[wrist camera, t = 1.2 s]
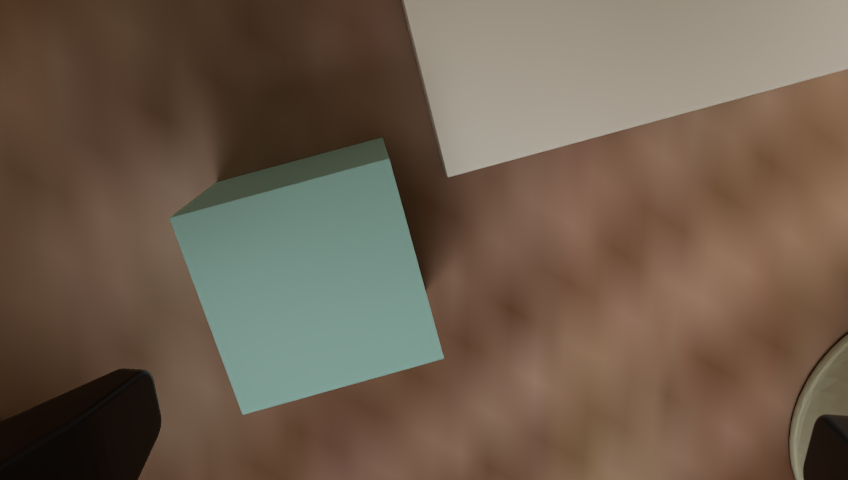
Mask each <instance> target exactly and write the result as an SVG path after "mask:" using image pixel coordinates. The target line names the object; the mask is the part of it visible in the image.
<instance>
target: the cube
mask: <svg viewBox="0 0 848 480" xmlns="http://www.w3.org/2000/svg"><path fill="white" fill-rule="evenodd" d="M169 219H170V221H171V224H172V227H173V229H174V232H175V235H176V237H177V240H178V243H179V245H180V248H181V251H182V253H183V256H184V259H185V262H186V264H187V267H188V270H189V272H190V275H191V278H192V280H193V283H194V286H195V288H196V291H197V294H198V296H199V299H200V302H201V304H202V307H203V310H204V313H205V315H206V318H207V321H208V323H209V326H210V329H211V331H212V334H213V337H214V339H215V342H216V345H217V347H218V350H219V353H220V355H221V358H222V361H223V364H224V366H225V369H226V372H227V374H228V377H229V380H230V382H231V385H232V388H233V390H234V393H235V396H236V398H237V401H238V404H239V406H240V409H241V412H242V415H244V414H248V413H251V412H255V411H258V410H262V409H266V408H269V407H273V406H276V405H280V404H283V403H287V402H291V401H294V400H298V399H301V398H305V397H308V396H312V395H316V394H319V393H323V392H326V391H330V390H333V389H337V388H341V387H344V386H348V385H351V384H355V383H359V382H362V381H366V380H369V379H373V378H376V377H380V376H384V375H387V374H391V373H394V372H398V371H401V370H405V369H409V368H412V367H416V366H419V365H423V364H426V363H430V362H434V361H437V360H441V359H444V357H443V353H442V349H441V346H440V342H439V338H438V335H437V331H436V327H435V324H434V320H433V316H432V313H431V309H430V305H429V302H428V298H427V294H426V291H425V287H424V283H423V280H422V276H421V272H420V269H419V265H418V262H417V258H416V254H415V251H414V247H413V243H412V240H411V236H410V232H409V229H408V225H407V221H406V218H405V214H404V210H403V207H402V203H401V199H400V196H399V192H398V188H397V185H396V181H395V177H394V174H393V170H392V166H391V163H390V159H389V156H388V153H387V150H386V147H385V143H384V140H383V137H382V138H378V139H374V140H370V141H367V142H363V143H359V144H356V145H352V146H348V147H345V148H341V149H337V150H334V151H330V152H326V153H322V154H319V155H315V156H311V157H308V158H304V159H300V160H297V161H293V162H289V163H285V164H282V165H278V166H274V167H271V168H267V169H263V170H260V171H256V172H252V173H248V174H245V175H241V176H237V177H234V178H230V179H226V180H223V181H219V182H216V183H215V184H214V185H212V186H211V187H210V188H208V189H207V190H206V191H204V192H203V193H202V194H200V195H199V196H198V197H196V198H195V199H194V200H193V201H191V202H190V203H189V204H187V205H186V206H185V207H183V208H182V209H181V210H179V211H178V212H177V213H175V214H174V215H173V216H171V217H170V218H169Z"/></svg>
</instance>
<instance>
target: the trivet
mask: <svg viewBox="0 0 848 480" xmlns="http://www.w3.org/2000/svg"><path fill="white" fill-rule="evenodd" d="M401 2H402V6H403V10H404V14H405V18H406V22H407V26H408V30H409V34H410V38H411V42H412V46H413V50H414V54H415V58H416V62H417V66H418V70H419V74H420V78H421V82H422V86H423V90H424V94H425V98H426V102H427V106H428V110H429V114H430V118H431V122H432V126H433V130H434V134H435V138H436V142H437V146H438V150H439V154H440V158H441V162H442V166H443V170H444V173H445V175H446V176H447V177H451V176H455V175H459V174H462V173H466V172H470V171H473V170H477V169H481V168H484V167H488V166H492V165H496V164H499V163H503V162H507V161H510V160H514V159H518V158H521V157H525V156H529V155H532V154H536V153H540V152H543V151H547V150H551V149H554V148H558V147H562V146H566V145H569V144H573V143H577V142H580V141H584V140H588V139H591V138H595V137H599V136H602V135H606V134H610V133H613V132H617V131H621V130H624V129H628V128H632V127H636V126H639V125H643V124H647V123H650V122H654V121H658V120H661V119H665V118H669V117H672V116H676V115H680V114H683V113H687V112H691V111H694V110H698V109H702V108H706V107H709V106H713V105H717V104H720V103H724V102H728V101H731V100H735V99H739V98H742V97H746V96H750V95H753V94H757V93H761V92H764V91H768V90H772V89H776V88H779V87H783V86H787V85H790V84H794V83H798V82H801V81H805V80H809V79H812V78H816V77H820V76H823V75H827V74H831V73H834V72H838V71H842V70H846V69H848V0H401Z"/></svg>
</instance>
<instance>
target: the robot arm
mask: <svg viewBox="0 0 848 480" xmlns="http://www.w3.org/2000/svg"><path fill="white" fill-rule="evenodd" d="M160 427H161V414H160V409H159V404H158V399H157V394H156V390H155V385H154V380H153V377H152V375H151V374H150V373H149V372H148V371H146V370H140V369H124V368H123V369H118V370H116V371H113V372H111V373H109V374H107V375H104V376H102V377H100V378H98V379H95V380H93V381H91V382H89V383H87V384H84V385H82V386H80V387H78V388H75V389H73V390H71V391H69V392H67V393H64V394H62V395H60V396H58V397H55V398H53V399H51V400H49V401H46V402H44V403H42V404H40V405H38V406H35V407H33V408H31V409H29V410H26V411H24V412H22V413H20V414H18V415H15V416H13V417H11V418H9V419H6V420H4V421H2V422H0V480H138V478H139V476H140V474H141V471H142V469H143V467H144V465H145V463H146V461H147V458H148V456H149V454H150V452H151V450H152V448H153V445H154V443H155V441H156V439H157V437H158V434H159V431H160ZM803 478H804V480H848V416H845V415H830V414H823V415H821V416H819V417H818V418H817V420H816V421H815V424H814V426H813V430H812V434H811V438H810V442H809V446H808V449H807V453H806V457H805V461H804V466H803Z"/></svg>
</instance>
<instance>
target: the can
mask: <svg viewBox="0 0 848 480" xmlns="http://www.w3.org/2000/svg"><path fill="white" fill-rule="evenodd" d="M823 414H830V415H845V416H848V334H847V335H846V336H845V337H844V338H842V339H841V340H840V341H839V342H838V343H837V344H836V345H835V346H834V347H833V348H832V349H831V350H830V351H829V352H828V353H827V354H826V355H825V357H824V358H823V359H822V360H821V361H820V362H819V364H818V365H817V366H816V368H815V369H814V371H813V372H812V374H811V376H810V377H809V379H808V380H807V382H806V384H805V386H804V388H803V390H802V392H801V394H800V396H799V399H798V401H797V404H796V407H795V409H794V413H793V417H792V421H791V428H790V437H789V450H790V461H791V466H792V469H793V473H794V476H795V479H796V480H804V478H803V466H804V461H805V457H806V453H807V449H808V446H809V442H810V438H811V434H812V430H813V426H814V424H815V421H816V420H817V418H818V417H819V416H821V415H823Z"/></svg>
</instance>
